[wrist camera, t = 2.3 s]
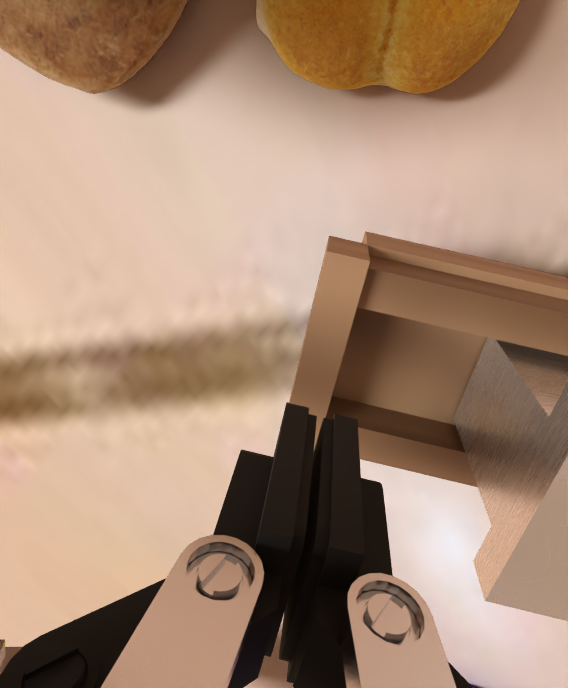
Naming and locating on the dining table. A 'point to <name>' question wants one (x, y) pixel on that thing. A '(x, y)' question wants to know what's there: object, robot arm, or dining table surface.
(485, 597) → the rider
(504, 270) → the beam
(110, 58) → the stone cup
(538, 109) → the dining table surface
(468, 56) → the bread roll
